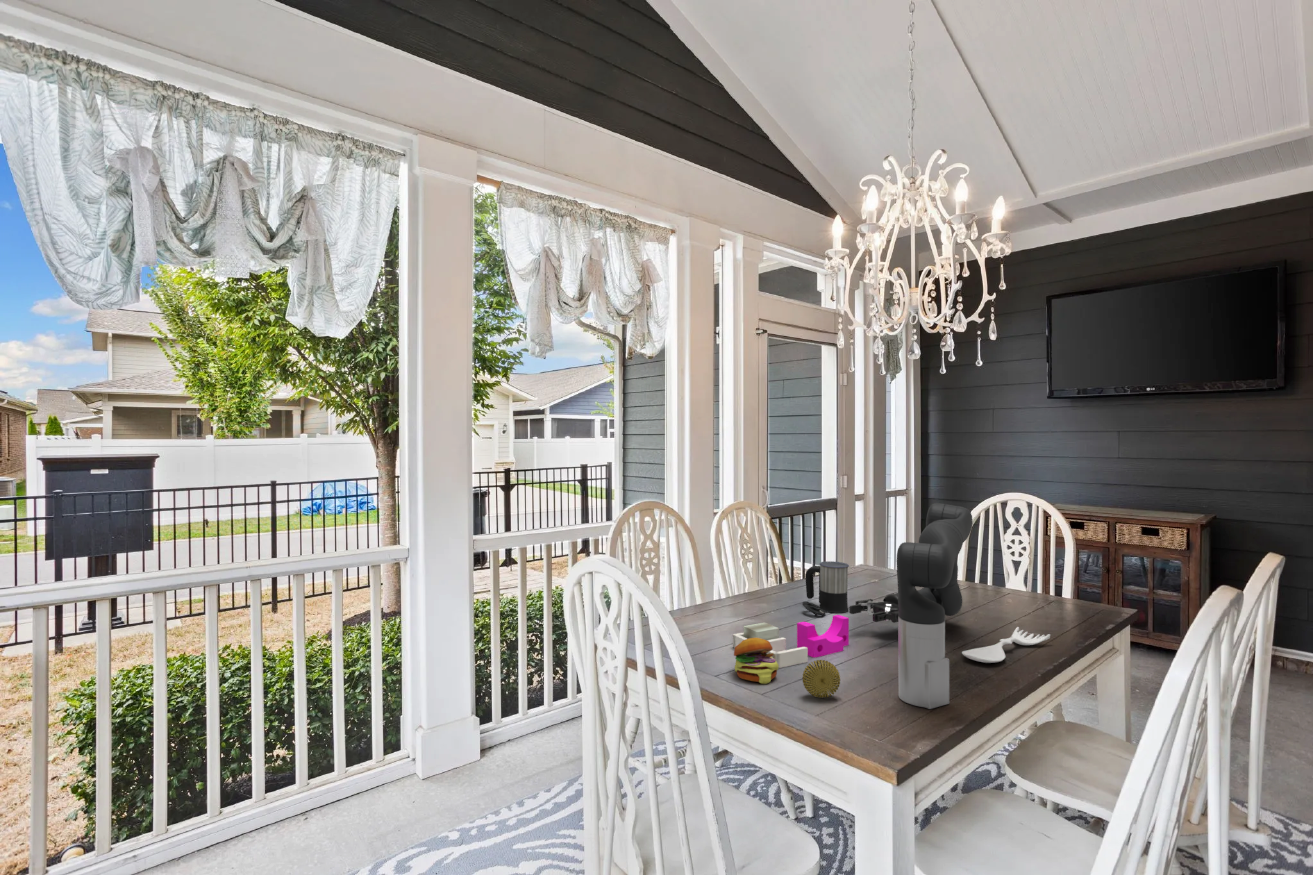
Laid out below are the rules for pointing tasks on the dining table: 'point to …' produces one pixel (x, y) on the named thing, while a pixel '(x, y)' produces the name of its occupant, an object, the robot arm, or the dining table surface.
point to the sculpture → (821, 678)
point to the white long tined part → (996, 651)
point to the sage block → (761, 631)
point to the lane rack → (780, 651)
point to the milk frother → (828, 588)
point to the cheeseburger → (755, 660)
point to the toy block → (824, 637)
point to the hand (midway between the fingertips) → (861, 613)
